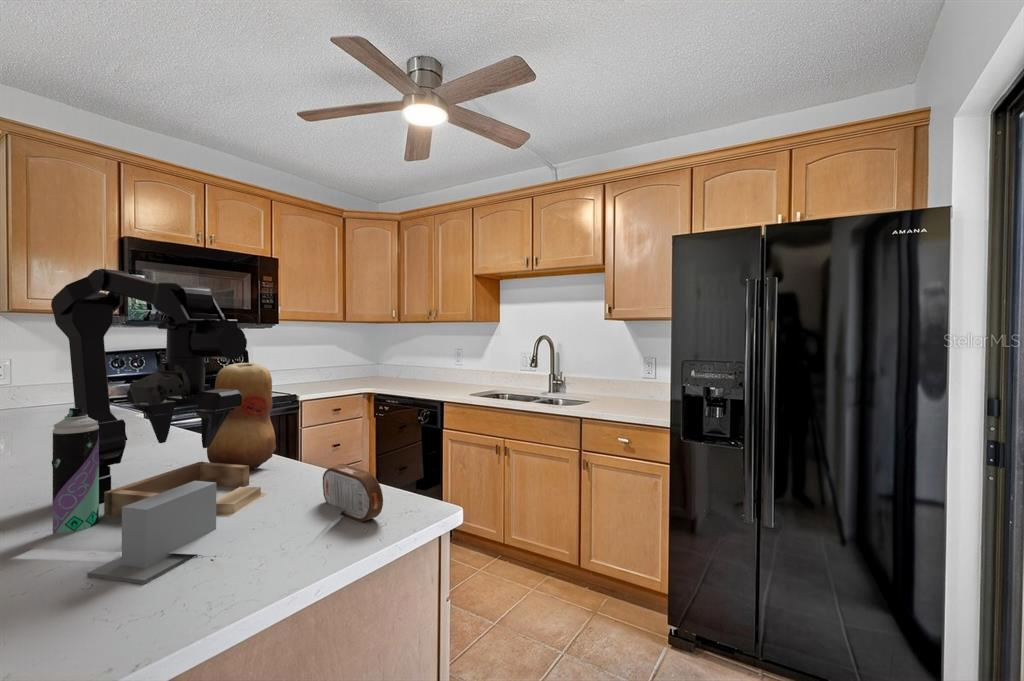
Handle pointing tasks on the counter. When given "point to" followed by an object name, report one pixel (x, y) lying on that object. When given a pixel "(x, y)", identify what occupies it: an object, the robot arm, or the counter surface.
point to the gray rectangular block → (167, 522)
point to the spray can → (75, 472)
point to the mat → (138, 569)
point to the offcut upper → (237, 499)
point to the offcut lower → (240, 509)
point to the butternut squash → (245, 418)
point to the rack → (174, 483)
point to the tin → (353, 492)
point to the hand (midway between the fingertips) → (183, 445)
